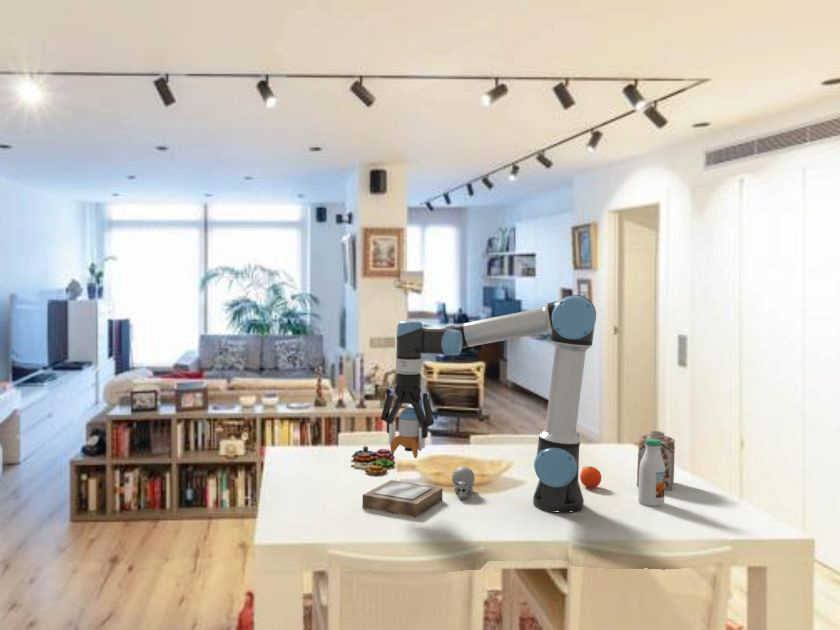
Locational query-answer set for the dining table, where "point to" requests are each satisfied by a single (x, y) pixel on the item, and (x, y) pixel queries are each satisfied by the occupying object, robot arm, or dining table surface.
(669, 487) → the decorative jar
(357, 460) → the gear puzzle
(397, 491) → the plinth
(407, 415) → the toy rocket
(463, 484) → the round bodied animal figurine
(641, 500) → the milk bottle
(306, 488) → the dining table surface
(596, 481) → the clementine
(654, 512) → the dining table surface
